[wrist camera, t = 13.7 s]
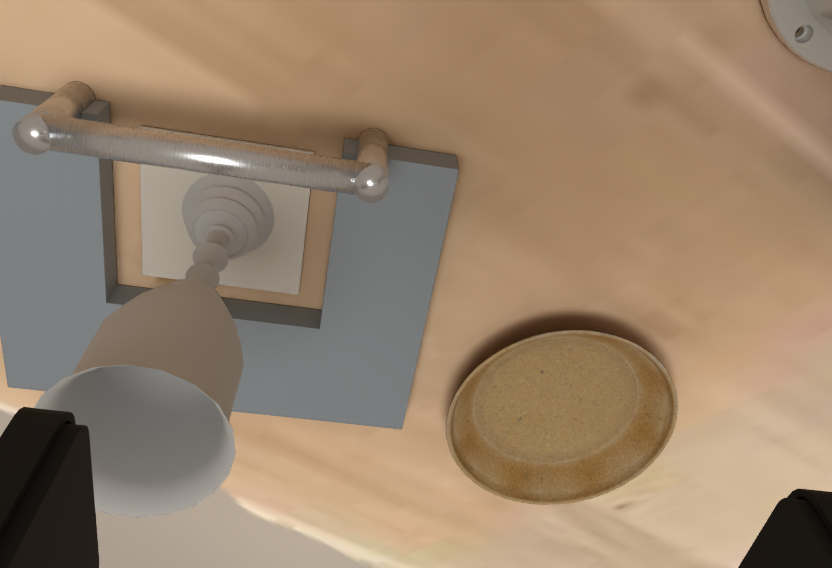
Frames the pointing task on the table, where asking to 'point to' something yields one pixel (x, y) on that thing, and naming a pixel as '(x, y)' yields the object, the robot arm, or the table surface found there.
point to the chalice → (169, 368)
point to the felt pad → (173, 248)
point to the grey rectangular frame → (255, 321)
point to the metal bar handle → (199, 150)
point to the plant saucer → (561, 417)
